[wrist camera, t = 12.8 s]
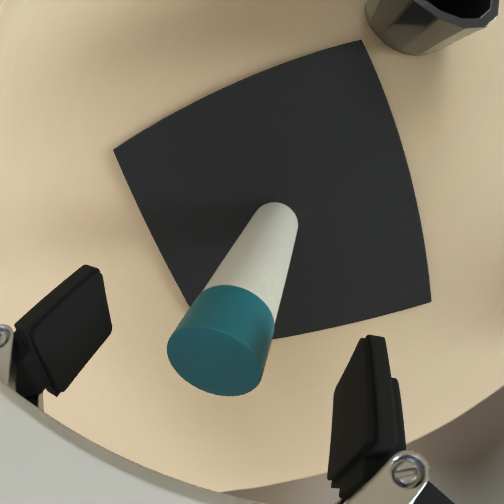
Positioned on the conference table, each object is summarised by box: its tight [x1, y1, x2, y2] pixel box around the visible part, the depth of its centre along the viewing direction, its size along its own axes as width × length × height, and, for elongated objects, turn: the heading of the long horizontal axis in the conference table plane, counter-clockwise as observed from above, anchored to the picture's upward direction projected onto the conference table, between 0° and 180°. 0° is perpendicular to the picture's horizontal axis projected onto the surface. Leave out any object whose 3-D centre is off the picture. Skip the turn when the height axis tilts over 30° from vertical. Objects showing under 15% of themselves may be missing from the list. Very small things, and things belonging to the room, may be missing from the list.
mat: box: [113, 40, 431, 339], centre depth 21 cm, size 20×20×1 cm
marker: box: [167, 202, 298, 396], centre depth 15 cm, size 3×3×14 cm
